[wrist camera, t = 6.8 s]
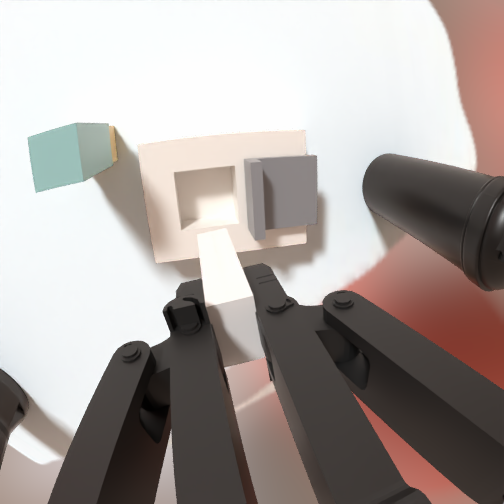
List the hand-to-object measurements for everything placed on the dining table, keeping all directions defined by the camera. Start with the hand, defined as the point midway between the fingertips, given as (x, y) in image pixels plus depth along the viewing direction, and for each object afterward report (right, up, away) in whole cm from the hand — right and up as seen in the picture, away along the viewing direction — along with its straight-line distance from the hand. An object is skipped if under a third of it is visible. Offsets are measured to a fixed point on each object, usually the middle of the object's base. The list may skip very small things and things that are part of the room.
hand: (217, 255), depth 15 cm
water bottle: (+20, +9, +21) cm, 30 cm away
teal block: (-14, +11, +12) cm, 22 cm away
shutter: (+5, +6, +14) cm, 16 cm away
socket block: (-1, +7, +17) cm, 18 cm away
